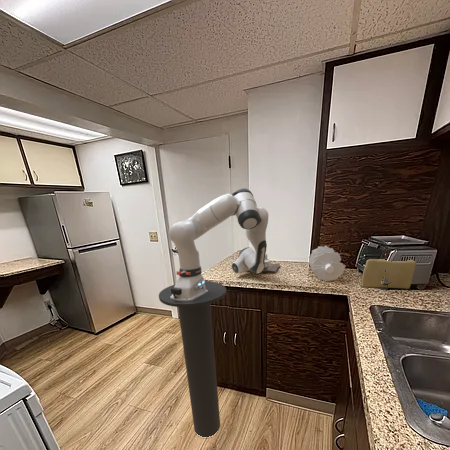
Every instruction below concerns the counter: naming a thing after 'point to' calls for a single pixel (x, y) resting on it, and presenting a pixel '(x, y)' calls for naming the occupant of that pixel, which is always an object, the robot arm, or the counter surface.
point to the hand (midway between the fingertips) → (264, 259)
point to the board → (270, 268)
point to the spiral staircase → (326, 263)
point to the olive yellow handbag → (388, 273)
